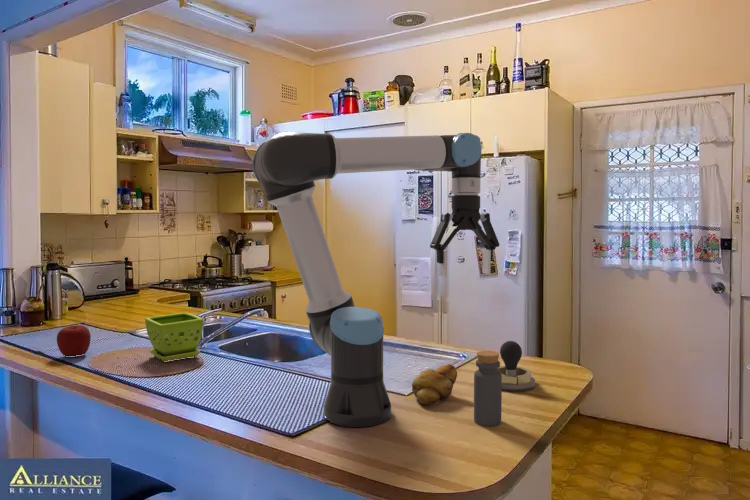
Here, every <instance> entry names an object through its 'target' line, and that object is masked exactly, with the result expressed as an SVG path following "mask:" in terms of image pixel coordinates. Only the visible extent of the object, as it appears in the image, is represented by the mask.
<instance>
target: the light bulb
mask: <svg viewBox="0 0 750 500" xmlns="http://www.w3.org/2000/svg"><path fill="white" fill-rule="evenodd" d="M522 355H523V350H522V347H521V345H520V344H519V343H518V342H516V341H513V340H507V341H505V342H503V344H501V346H500V349H499V356H500V357H501V359H502V361H503V363H504V366H505V368H506V375H512V376H516V368H517V367H518V364H519V362H520V361H521V359H522Z"/></svg>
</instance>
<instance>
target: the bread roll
mask: <svg viewBox="0 0 750 500" xmlns="http://www.w3.org/2000/svg"><path fill="white" fill-rule="evenodd" d="M457 378H458V370H457V368H456V367H455V366H454V365H453V364H451V363H448V364H444V365H440V366H439V367H437V368H436V369H435V370H434V369H431V368H429V369H425V370H421V371H420V372H419V373H418V375H417V376H416V377H415V378H414V379H413V380H412V383H411V390H412V392H413V394H414V396H415V398H416V399H417V401H418V402H419V403H420V404H423V405H426V406H427V405H429V406H430V405H435V404H437V403H438V402H439V401H444V400H447V399H449V398H450V397H451V395H452V393H453V388H454V385H455V383H456V381H457Z"/></svg>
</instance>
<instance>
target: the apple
mask: <svg viewBox="0 0 750 500" xmlns="http://www.w3.org/2000/svg"><path fill="white" fill-rule="evenodd" d="M91 336H92V335H91V332H90V329H89V328H88V327H86V326H85V325H80V324H79V325H77V324H76V325H69V326H65V327H63V328H61V329H59V331H58V332H57V335H56V343H57V347H58V350H59V351H60V354H62V355H63V356H64V355H65V356H76V355H82V354H84V355H85V354H86V353H87V352H88V350H89V347H90V345H91V340H92V339H91ZM65 356H64V357H65Z"/></svg>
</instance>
